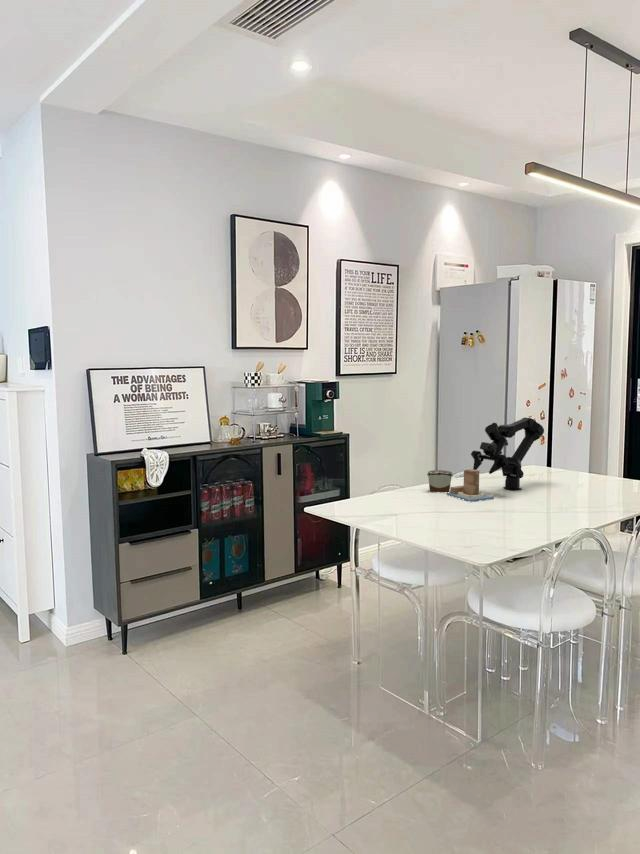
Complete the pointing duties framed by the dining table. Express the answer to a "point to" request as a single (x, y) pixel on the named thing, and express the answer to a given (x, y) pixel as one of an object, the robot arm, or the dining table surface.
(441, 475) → the food container
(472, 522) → the dining table surface
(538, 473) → the dining table surface
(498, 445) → the robot arm
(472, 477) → the pillar
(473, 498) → the blueprint board
